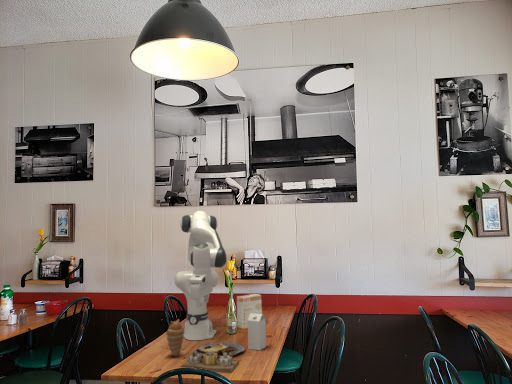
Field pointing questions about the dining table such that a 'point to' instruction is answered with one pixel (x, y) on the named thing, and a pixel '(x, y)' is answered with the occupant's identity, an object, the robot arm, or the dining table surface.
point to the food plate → (220, 348)
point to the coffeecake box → (247, 308)
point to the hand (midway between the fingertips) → (202, 304)
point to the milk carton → (256, 331)
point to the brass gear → (209, 359)
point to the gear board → (222, 365)
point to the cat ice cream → (175, 337)
